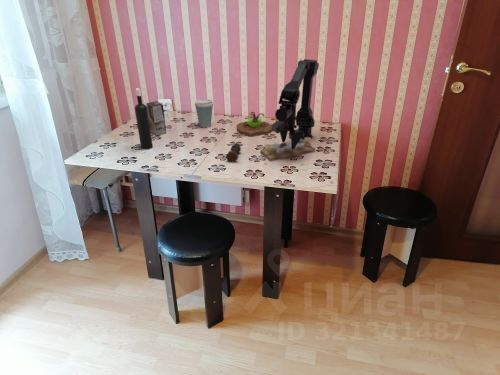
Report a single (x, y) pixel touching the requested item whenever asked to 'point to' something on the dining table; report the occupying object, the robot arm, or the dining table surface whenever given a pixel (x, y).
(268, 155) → the peg rack
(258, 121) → the plant
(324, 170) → the dining table surface
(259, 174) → the dining table surface
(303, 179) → the dining table surface
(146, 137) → the wine bottle
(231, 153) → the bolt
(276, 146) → the grey stepped block
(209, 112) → the disposable coffee cup
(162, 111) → the coffee box
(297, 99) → the robot arm
